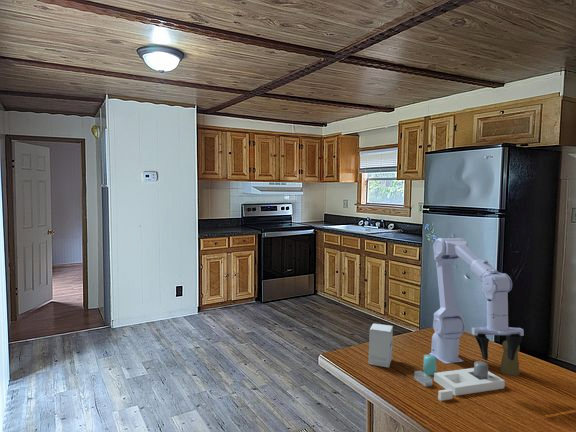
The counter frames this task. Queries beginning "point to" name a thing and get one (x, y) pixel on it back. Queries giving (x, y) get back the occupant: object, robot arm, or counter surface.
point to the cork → (509, 362)
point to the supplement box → (380, 345)
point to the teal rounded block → (429, 365)
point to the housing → (467, 381)
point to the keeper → (445, 394)
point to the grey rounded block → (480, 370)
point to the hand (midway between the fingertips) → (497, 359)
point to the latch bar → (423, 378)
